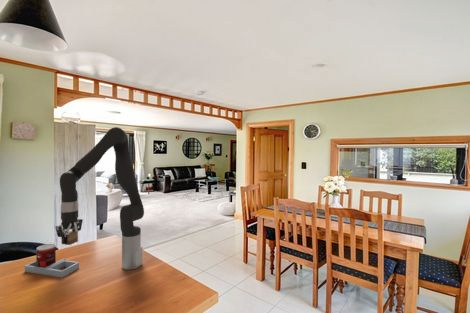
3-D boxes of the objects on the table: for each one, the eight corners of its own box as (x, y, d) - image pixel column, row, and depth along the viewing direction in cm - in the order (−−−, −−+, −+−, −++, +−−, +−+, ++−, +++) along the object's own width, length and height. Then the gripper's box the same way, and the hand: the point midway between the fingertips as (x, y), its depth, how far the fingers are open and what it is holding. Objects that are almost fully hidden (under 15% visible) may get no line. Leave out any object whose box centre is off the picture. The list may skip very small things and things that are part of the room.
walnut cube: (77, 241, 128) (77, 232, 128) (69, 245, 123) (69, 235, 123) (70, 240, 130) (70, 231, 129) (61, 243, 125) (61, 234, 125)
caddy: (82, 266, 128) (82, 260, 128) (62, 277, 117) (62, 271, 117) (47, 261, 133) (46, 255, 133) (24, 271, 122) (24, 265, 122)
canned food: (39, 265, 129) (39, 244, 128) (57, 262, 132) (57, 242, 131) (34, 272, 122) (33, 250, 121) (53, 269, 125) (53, 248, 124)
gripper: (76, 205, 134) (76, 236, 134) (50, 212, 120) (50, 246, 120) (87, 207, 132) (87, 237, 132) (62, 214, 118) (62, 248, 119)
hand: (69, 241), depth 126 cm, fingers closed on walnut cube, 5 cm apart
